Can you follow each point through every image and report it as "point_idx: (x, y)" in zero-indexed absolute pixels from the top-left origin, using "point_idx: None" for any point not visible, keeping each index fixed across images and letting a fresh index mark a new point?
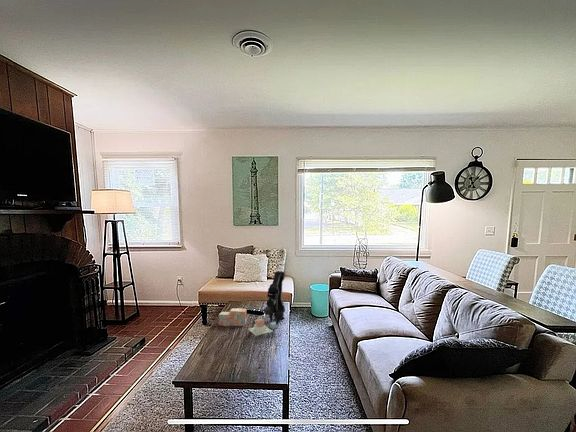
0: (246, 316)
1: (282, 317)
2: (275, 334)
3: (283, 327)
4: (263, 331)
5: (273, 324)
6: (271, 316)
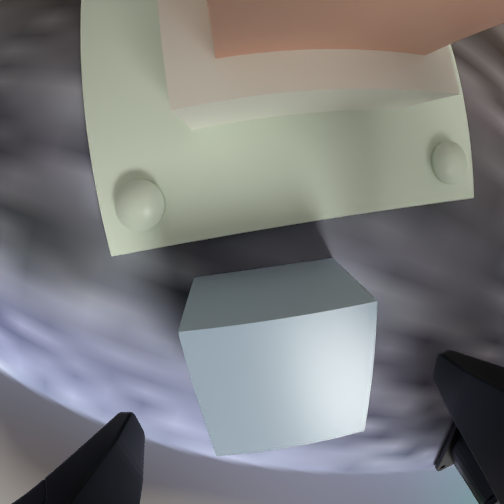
0: None
1: (454, 462)
2: (19, 265)
3: None
4: None
5: (217, 368)
6: (495, 439)
